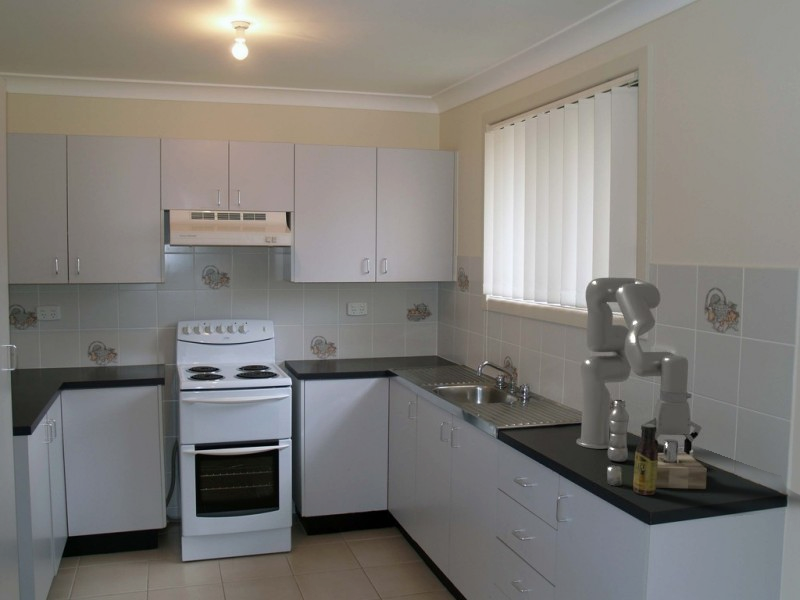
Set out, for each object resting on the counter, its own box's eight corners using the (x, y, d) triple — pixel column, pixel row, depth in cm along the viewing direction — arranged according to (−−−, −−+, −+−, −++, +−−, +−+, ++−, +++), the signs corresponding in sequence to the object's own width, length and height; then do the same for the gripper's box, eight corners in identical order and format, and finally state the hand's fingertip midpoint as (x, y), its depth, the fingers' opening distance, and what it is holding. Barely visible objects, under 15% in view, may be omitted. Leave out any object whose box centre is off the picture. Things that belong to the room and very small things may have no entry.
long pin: (660, 477, 235) (662, 439, 234) (673, 477, 234) (675, 439, 234) (664, 481, 231) (666, 442, 230) (678, 482, 230) (680, 442, 230)
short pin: (604, 483, 228) (604, 466, 228) (614, 481, 230) (614, 464, 230) (614, 486, 224) (614, 470, 224) (624, 484, 226) (624, 467, 226)
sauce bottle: (628, 489, 222) (631, 422, 221) (648, 488, 224) (651, 421, 222) (640, 497, 216) (643, 427, 214) (660, 496, 217) (664, 426, 216)
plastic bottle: (605, 462, 250) (608, 401, 248) (608, 457, 256) (610, 398, 255) (626, 464, 247) (629, 403, 246) (628, 459, 254) (630, 399, 252)
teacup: (683, 462, 252) (684, 446, 252) (697, 469, 245) (698, 452, 244) (656, 463, 250) (656, 447, 249) (669, 470, 242) (670, 453, 242)
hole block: (635, 471, 241) (636, 452, 240) (687, 472, 240) (688, 453, 240) (650, 487, 225) (651, 467, 224) (705, 488, 224) (706, 468, 224)
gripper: (697, 395, 234) (695, 450, 235) (640, 393, 235) (638, 448, 236) (706, 400, 227) (704, 457, 228) (647, 398, 227) (645, 455, 228)
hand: (670, 452), depth 232 cm, fingers open, 9 cm apart
